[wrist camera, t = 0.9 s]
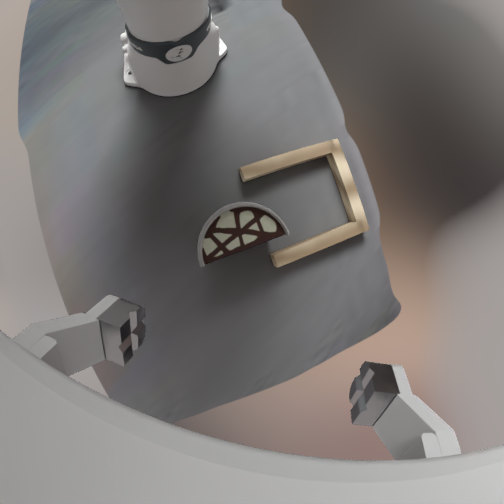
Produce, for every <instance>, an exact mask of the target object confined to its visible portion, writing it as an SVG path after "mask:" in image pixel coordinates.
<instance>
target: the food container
mask: <svg viewBox="0 0 504 504" xmlns="http://www.w3.org/2000/svg"><path fill="white" fill-rule="evenodd" d="M289 234H290V233H289V230H288V228H287V226H286V225H285V223H284V222H283V221H282V219H281V218H280V217H279V216H278V215H277V214H276V213H275V212H273V211H272V210H271V209H269V208H267V207H266V206H263V205H261V204H258V203H254V202H235V203H232V204H228V205H226V206H224V207H222V208H220V209H219V210H217V211H216V212H215V213H213V214H212V215H211V216H210V217H209V219H208V220H207V221H206V222H205V224H204V226H203V228H202V229H201V232H200V235H199V238H198V244H197V255H198V261H199V264H200V267H204V266H205V265H206V264H208V263H211V262H213V261H215V260H218V259H221V258H224V257H226V256H229V255H232V254H234V253H237V252H240V251H243V250H245V249H248V248H251V247H253V246H256V245H258V244H261V243H264V242H266V241H269V240H272V239H274V238H277V237H280V236H282V235H289Z"/></svg>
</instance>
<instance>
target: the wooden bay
mask: <svg viewBox="0 0 504 504" xmlns="http://www.w3.org/2000/svg"><path fill="white" fill-rule="evenodd" d="M324 156H326V157H327V159H328V162H329V165H330V167H331V170H332V172H333V175H334V178H335V181H336V183H337V186H338V189H339V192H340V195H341V198H342V200H343V203H344V206H345V209H346V212H347V215H348V218H349V223H347V224H344V225H342V226H339V227H337V228H334V229H332V230H329V231H326V232H324V233H321V234H319V235H316V236H314V237H311V238H309V239H306V240H304V241H301V242H299V243H296V244H294V245H291V246H289V247H286V248H284V249H281V250H279V251H276V252H273V253H271V254H270V256H271V259H272V262H273V265H274V266H275V267H277V268H278V267H281V266H283V265H286V264H288V263H290V262H293V261H295V260H298V259H300V258H303V257H305V256H308V255H310V254H312V253H315V252H317V251H320V250H322V249H325V248H327V247H329V246H332V245H334V244H337V243H339V242H341V241H344V240H346V239H348V238H351V237H353V236H356V235H358V234H360V233H363V232H365V231H367V230H370V229H369V226H368V223H367V220H366V216H365V213H364V210H363V207H362V204H361V201H360V198H359V195H358V192H357V189H356V186H355V183H354V180H353V178H352V175H351V172H350V169H349V167H348V164H347V161H346V159H345V156H344V154H343V151H342V148H341V146H340V143H339V141H338V139H334V140H330V141H326V142H323V143H319V144H315V145H312V146H308V147H304V148H301V149H297V150H294V151H291V152H287V153H284V154H281V155H277V156H274V157H271V158H268V159H265V160H261V161H258V162H255V163H252V164H249V165H246V166H243V167H240V169H239V173H240V175H241V178H242V181H243V182H246V181H249V180H252V179H255V178H257V177H260V176H263V175H266V174H269V173H272V172H276V171H279V170H282V169H285V168H288V167H291V166H294V165H297V164H301V163H304V162H307V161H311V160H314V159H317V158H321V157H324Z"/></svg>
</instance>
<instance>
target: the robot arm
mask: <svg viewBox="0 0 504 504" xmlns="http://www.w3.org/2000/svg"><path fill="white" fill-rule="evenodd" d="M115 1H116V3H117V5H118V7H119V8H120V10H121V12H122V14H123V17H124V19H125V21H126V24H125V28H126V30H125V33H122V34H121V42H122V44H124V45H125V46H123V52H124V81H125V84H126V85H128V86H134V87H141V88H143V89H145V90H147V91H148V92H150V93H153V94H155V95H159V96H178V95H183V94H186V93H189V92H192V91H194V90H196V89H197V88H199V87H201V86H202V85H203V84H204V83H206V82H207V81H208V80H209V78H210V77H211V76H212V74H213V72H214V70H215V68H216V65H217V63H218V61H219V60H220V59H221V58H222V57H223V56H224V55H225V54H226V53H227V46H226V45H225V44H224V42H223V41H222V40H221V39H220V38H219V28H218V26H215V24H214V23H213V22H212V14H211V9H210V6H209V4H208V0H115ZM130 73H132V74H131V75H129V74H130ZM144 317H145V309H144V307H143V306H140V305H137V304H134V303H132V302H129V301H127V300H124V299H120V298H118V297H116V296H113V295H107V296H106V297H105V298H103V299H102V300H101V301H100V302H99V303H97V304H96V305H95V306H94V307H93V308H91V309H90V310H89V311H88V312H87V313H86V314H84V313H78V314H74V315H69V316H65V317H61V318H56V319H51V320H47V321H43V322H38V323H33V324H30V325H29V326H28V327H26V328H25V329H24V330H23V331H21V332H20V333H19V334H18V335H17V336H15V337H14V338H13V339H11V338H10V337H9V336H7V335H6V334H5V333H4V332H2V331H1V330H0V504H504V445H500V446H496V447H492V448H488V449H484V450H479V451H474V452H469V453H463V454H462V453H461V450H460V447H459V444H458V441H457V438H456V435H455V432H454V430H453V429H452V428H451V427H450V426H449V425H448V424H446V423H445V422H444V421H443V420H442V419H441V418H440V417H439V416H438V415H437V414H436V413H435V412H433V411H432V410H431V409H430V408H429V407H428V406H427V405H426V404H425V403H424V402H422V401H421V400H420V399H419V398H418V397H417V396H416V395H412V392H411V388H410V385H409V383H408V380H407V377H406V374H405V371H404V369H403V367H402V366H401V365H392V364H389V365H388V364H380V363H373V362H366V361H365V362H364V364H362V366H361V368H360V375H359V376H358V377H355V379H354V381H353V383H352V385H351V388H350V394H349V399H350V402H351V403H352V404H353V408H352V409H351V418H352V424H354V425H364V426H373V429H374V430H375V432H376V433H377V434H378V436H379V437H380V439H381V440H382V442H383V443H384V444H385V446H386V448H387V449H388V450H389V452H390V453H391V455H392V456H393V458H394V459H395V460H377V461H376V460H374V461H373V460H345V459H330V458H319V457H310V456H302V455H294V454H288V453H281V452H275V451H270V450H265V449H259V448H255V447H250V446H245V445H241V444H237V443H233V442H229V441H225V440H221V439H217V438H213V437H210V436H207V435H203V434H200V433H197V432H194V431H190V430H187V429H184V428H181V427H179V426H175V425H173V424H170V423H167V422H165V421H162V420H159V419H157V418H154V417H151V416H149V415H146V414H144V413H142V412H139V411H137V410H134V409H132V408H130V407H128V406H125V405H123V404H121V403H119V402H117V401H114V400H112V399H110V398H108V397H106V396H104V395H102V394H100V393H98V392H96V391H94V390H92V389H90V388H88V387H86V386H85V385H83V384H81V383H79V382H77V381H75V380H74V379H72V378H70V377H69V376H70V375H72V374H74V373H77V372H79V371H81V370H84V369H86V368H88V367H90V366H93V365H95V364H97V363H99V362H102V361H104V360H105V359H107V360H109V361H112V362H114V363H117V364H119V365H122V366H124V367H125V365H126V364H127V363H128V361H129V360H130V359H131V358H132V356H133V350H136V349H139V347H140V346H141V345H142V343H143V340H144V338H145V332H146V326H145V324H144V323H143V321H142V320H143V319H144Z"/></svg>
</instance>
